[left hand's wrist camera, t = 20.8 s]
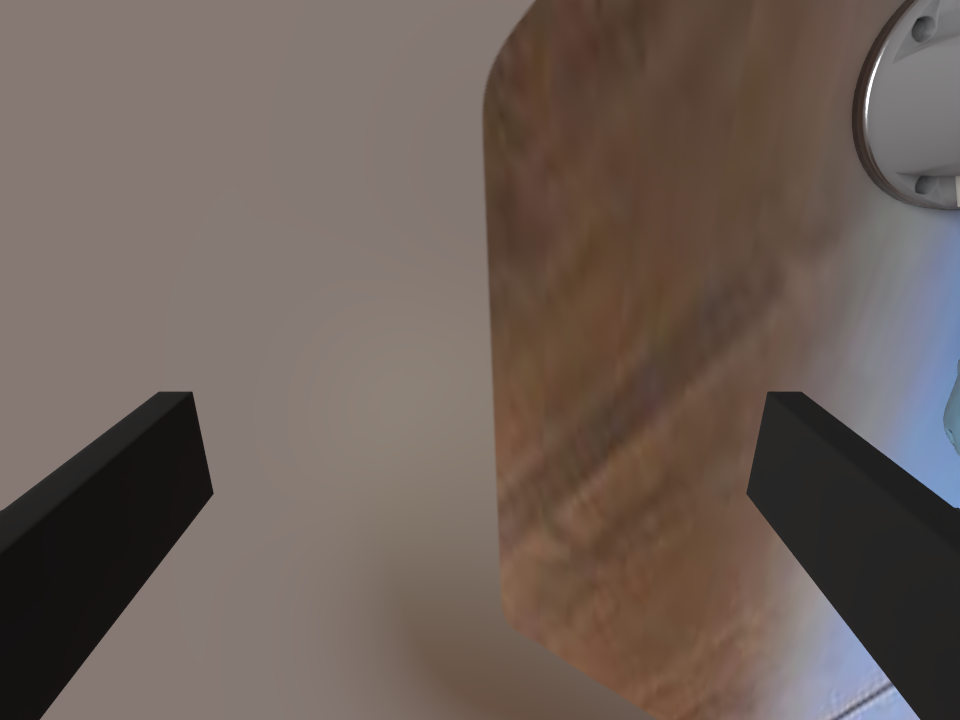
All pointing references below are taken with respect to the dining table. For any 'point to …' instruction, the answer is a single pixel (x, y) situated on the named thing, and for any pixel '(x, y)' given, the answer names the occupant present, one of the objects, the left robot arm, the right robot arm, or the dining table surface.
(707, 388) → the dining table surface
